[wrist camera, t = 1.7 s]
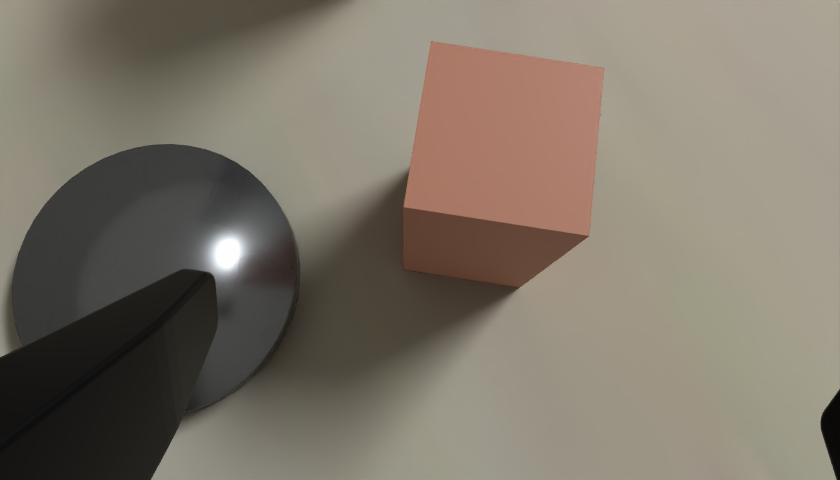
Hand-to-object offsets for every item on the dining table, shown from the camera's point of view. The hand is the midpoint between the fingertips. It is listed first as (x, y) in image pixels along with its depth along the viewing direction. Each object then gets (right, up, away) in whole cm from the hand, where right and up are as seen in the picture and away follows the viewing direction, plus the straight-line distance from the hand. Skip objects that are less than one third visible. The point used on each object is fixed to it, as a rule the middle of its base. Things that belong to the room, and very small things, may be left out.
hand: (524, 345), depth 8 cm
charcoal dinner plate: (-11, 0, +13) cm, 17 cm away
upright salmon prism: (0, +2, +14) cm, 15 cm away
